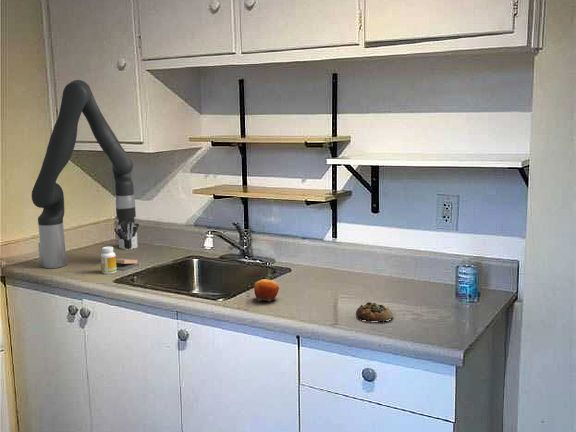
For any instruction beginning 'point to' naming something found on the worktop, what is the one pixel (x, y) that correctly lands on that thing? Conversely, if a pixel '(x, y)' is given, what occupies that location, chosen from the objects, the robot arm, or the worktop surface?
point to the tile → (126, 261)
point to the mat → (124, 266)
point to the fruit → (266, 290)
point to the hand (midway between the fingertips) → (128, 248)
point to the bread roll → (374, 312)
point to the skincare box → (133, 240)
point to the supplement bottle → (108, 260)
